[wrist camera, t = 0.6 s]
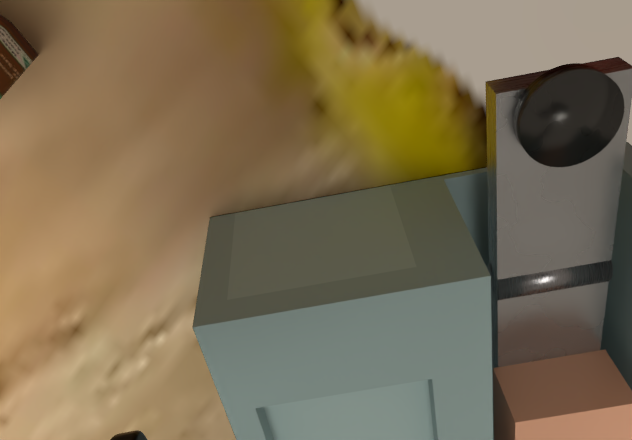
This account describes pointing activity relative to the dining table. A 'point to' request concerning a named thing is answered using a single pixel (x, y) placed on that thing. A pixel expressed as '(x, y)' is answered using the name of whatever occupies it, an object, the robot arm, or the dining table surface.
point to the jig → (369, 312)
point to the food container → (13, 55)
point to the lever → (553, 206)
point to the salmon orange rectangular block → (562, 399)
